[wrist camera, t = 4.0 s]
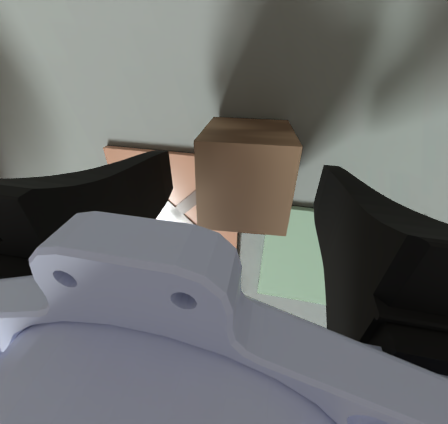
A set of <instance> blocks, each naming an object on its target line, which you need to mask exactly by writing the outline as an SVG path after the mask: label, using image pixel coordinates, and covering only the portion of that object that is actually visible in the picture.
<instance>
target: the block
mask: <svg viewBox="0 0 448 424" xmlns="http://www.w3.org/2000/svg"><path fill="white" fill-rule="evenodd" d="M302 148H303V147H302V145H301V143H300V141H299V139H298V138H297V136H296V134H295V132H294V130H293V129H292V127H291V125H290V123H289V121H288V120H270V119H248V118H226V117H213V118H212V120H211V121H210V122H209V123H208V124H207V126H206V127H205V128H204V129H203V130H202V132H201V133H200V134H199V135H198V136H197V138H196V139H195V140H194V159H195V185H196V210H197V225H198V226H201V227H204V228H207V229H210V230H216V231H228V232H240V233H252V234H263V235H275V236H286V234H287V228H288V223H289V218H290V212H291V207H292V202H293V196H294V191H295V185H296V180H297V175H298V169H299V164H300V159H301V153H302Z"/></svg>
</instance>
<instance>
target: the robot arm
mask: <svg viewBox="0 0 448 424" xmlns="http://www.w3.org/2000/svg"><path fill="white" fill-rule="evenodd" d="M172 190H173V182H172V174H171V166H170V158H169V151H160V150H154V151H149V152H146V153H142V154H139V155H136V156H133V157H130V158H127V159H124V160H121V161H118V162H114V163H111V164H108V165H104V166H101V167H97V168H93V169H89V170H84V171H79V172H73V173H67V174H60V175H53V176H44V177H31V178H14V179H0V424H448V224H447V223H444V222H441V221H438V220H435V219H433V218H430V217H428V216H425V215H423V214H420V213H418V212H415V211H413V210H411V209H409V208H407V207H404V206H402V205H400V204H398V203H396V202H394V201H392V200H391V199H389V198H387V197H385V196H384V195H382V194H380V193H379V192H377V191H375V190H374V189H372V188H371V187H369V186H368V185H366V184H365V183H363V182H362V181H360V180H359V179H357V178H356V177H355V176H353V175H352V174H350V173H349V172H348V171H346V170H345V169H343V168H341V167H339V166H329V165H324V167H323V170H322V174H321V178H320V182H319V185H318V189H317V193H316V197H315V201H314V222H315V227H316V232H317V237H318V242H319V247H320V252H321V256H322V262H323V268H324V280H325V295H326V314H327V328H324V327H322V326H319V325H317V324H314V323H312V322H309V321H307V320H305V319H302V318H300V317H297V316H295V315H292V314H290V313H288V312H285V311H283V310H280V309H278V308H275V307H273V306H270V305H268V304H266V303H263V302H261V301H258V300H256V299H253V298H251V297H248V296H246V295H244V294H243V293H242V291H241V271H242V265H241V262H240V258H239V255H238V252H237V249H236V248H235V247H234V246H233V245H232V244H231V243H230V242H229V241H228V240H226V239H225V238H224V237H223V236H222V235H221V234H220V233H218V232H215V231H212V230H210V229H207V228H204V227H201V226H198V225H195V224H189V223H181V222H174V221H166V220H159V219H156V218H157V217H158V215H159V214H160V212H161V211H162V209H163V208H164V206H165V205H166V203H167V201H168V199H169V197H170V195H171V192H172Z"/></svg>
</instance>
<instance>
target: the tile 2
mask: <svg viewBox="0 0 448 424" xmlns="http://www.w3.org/2000/svg"><path fill="white" fill-rule="evenodd" d="M257 293H260V294H265V295H271V296H277V297H283V298H288V299H294V300H300V301H305V302H311V303H317V304H323V305H326V295H325V280H324V268H323V262H322V256H321V252H320V247H319V242H318V237H317V232H316V227H315V222H314V208H306V207H298V206H292V207H291V212H290V218H289V223H288V228H287V234H286V236H275V235H265V240H264V247H263V255H262V262H261V269H260V276H259V283H258V291H257Z"/></svg>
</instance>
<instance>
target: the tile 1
mask: <svg viewBox="0 0 448 424" xmlns="http://www.w3.org/2000/svg"><path fill="white" fill-rule="evenodd" d="M103 149H104V153H105V156H106V160H107V163H108V164H111V163H114V162H118V161H121V160H124V159H127V158H130V157H133V156H136V155H139V154H142V153H146V152H149V151H154V150H150V149H139V148H128V147H117V146H105V147H104V148H103ZM160 151H161V150H160ZM169 158H170V166H171V174H172V182H173V190H172V192H171V195H170V197H169V199H168V201H167V203H166V205H165V206H164V208H163V209H162V211H161V212H160V214H159V215H158V217H157V218H156V219H159V220H166V221H174V222H181V223H189V224H195V225H197V210H196V185H195V159H194V153H183V152H172V151H169ZM212 231H215V232H218V233H220V234H221V235H222V236H223V237H224V238H225V239H226V240H228V241H229V242H230V243H231V244H232V245H233V246H234V247H235V248H236V249H237V240H238V232H228V231H216V230H212Z"/></svg>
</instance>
